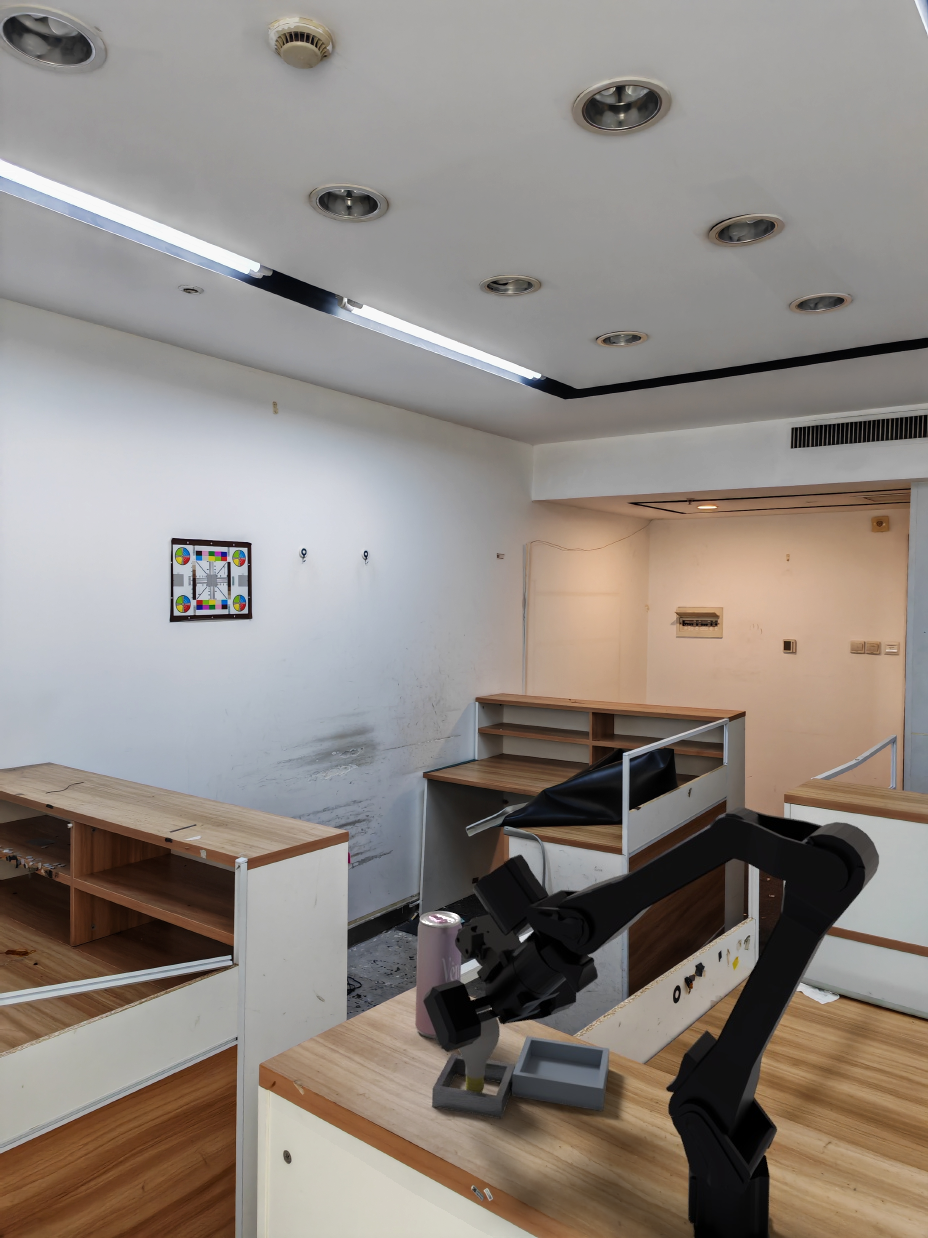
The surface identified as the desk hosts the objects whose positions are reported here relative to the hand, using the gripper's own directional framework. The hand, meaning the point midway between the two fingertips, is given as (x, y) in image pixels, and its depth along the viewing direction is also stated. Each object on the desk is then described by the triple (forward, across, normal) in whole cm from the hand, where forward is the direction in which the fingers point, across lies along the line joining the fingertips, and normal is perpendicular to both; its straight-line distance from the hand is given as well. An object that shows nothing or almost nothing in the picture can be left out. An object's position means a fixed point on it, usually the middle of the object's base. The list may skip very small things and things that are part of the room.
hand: (469, 1030), depth 96 cm
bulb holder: (+4, 0, +6) cm, 7 cm away
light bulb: (+4, 0, +6) cm, 7 cm away
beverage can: (+15, -5, -5) cm, 16 cm away
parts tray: (+1, -10, +9) cm, 13 cm away
